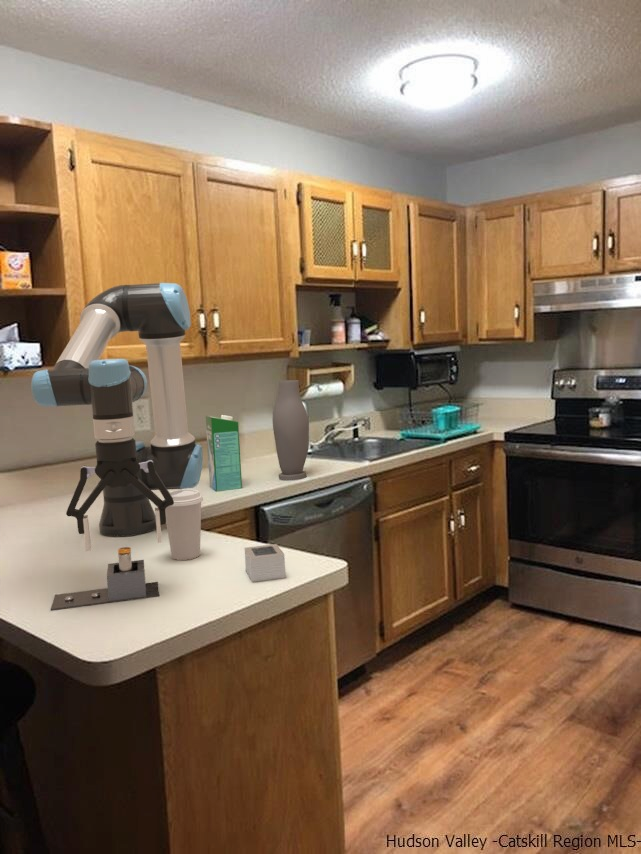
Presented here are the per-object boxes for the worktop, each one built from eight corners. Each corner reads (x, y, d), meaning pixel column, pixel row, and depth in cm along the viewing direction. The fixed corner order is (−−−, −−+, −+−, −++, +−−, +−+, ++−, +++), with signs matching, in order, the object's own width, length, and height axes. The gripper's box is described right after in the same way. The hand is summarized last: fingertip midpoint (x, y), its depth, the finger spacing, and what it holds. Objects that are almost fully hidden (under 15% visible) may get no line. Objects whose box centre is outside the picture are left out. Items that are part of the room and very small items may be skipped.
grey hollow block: (110, 587, 142) (108, 563, 142) (145, 583, 144) (143, 559, 143) (108, 601, 135) (106, 576, 134) (146, 596, 136) (144, 571, 136)
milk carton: (242, 488, 237) (237, 414, 234) (216, 491, 234) (211, 417, 231) (235, 483, 245) (231, 412, 242) (210, 486, 242) (205, 415, 239)
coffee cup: (188, 547, 169) (184, 486, 168) (215, 553, 163) (211, 490, 161) (156, 558, 162) (151, 494, 160) (183, 564, 156) (178, 499, 154)
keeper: (55, 596, 140) (51, 551, 138) (157, 583, 145) (154, 540, 143) (50, 610, 132) (46, 563, 131) (159, 596, 137) (155, 551, 136)
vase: (297, 481, 243) (292, 381, 240) (266, 479, 250) (262, 381, 246) (317, 475, 254) (313, 379, 251) (287, 473, 261) (283, 379, 258)
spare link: (245, 570, 150) (244, 547, 150) (277, 566, 152) (276, 544, 151) (252, 582, 143) (250, 558, 142) (285, 577, 144) (284, 554, 144)
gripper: (44, 447, 129) (55, 558, 132) (181, 436, 135) (189, 542, 138) (48, 441, 136) (59, 547, 139) (179, 431, 142) (186, 532, 145)
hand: (124, 545), depth 139 cm, fingers open, 13 cm apart
